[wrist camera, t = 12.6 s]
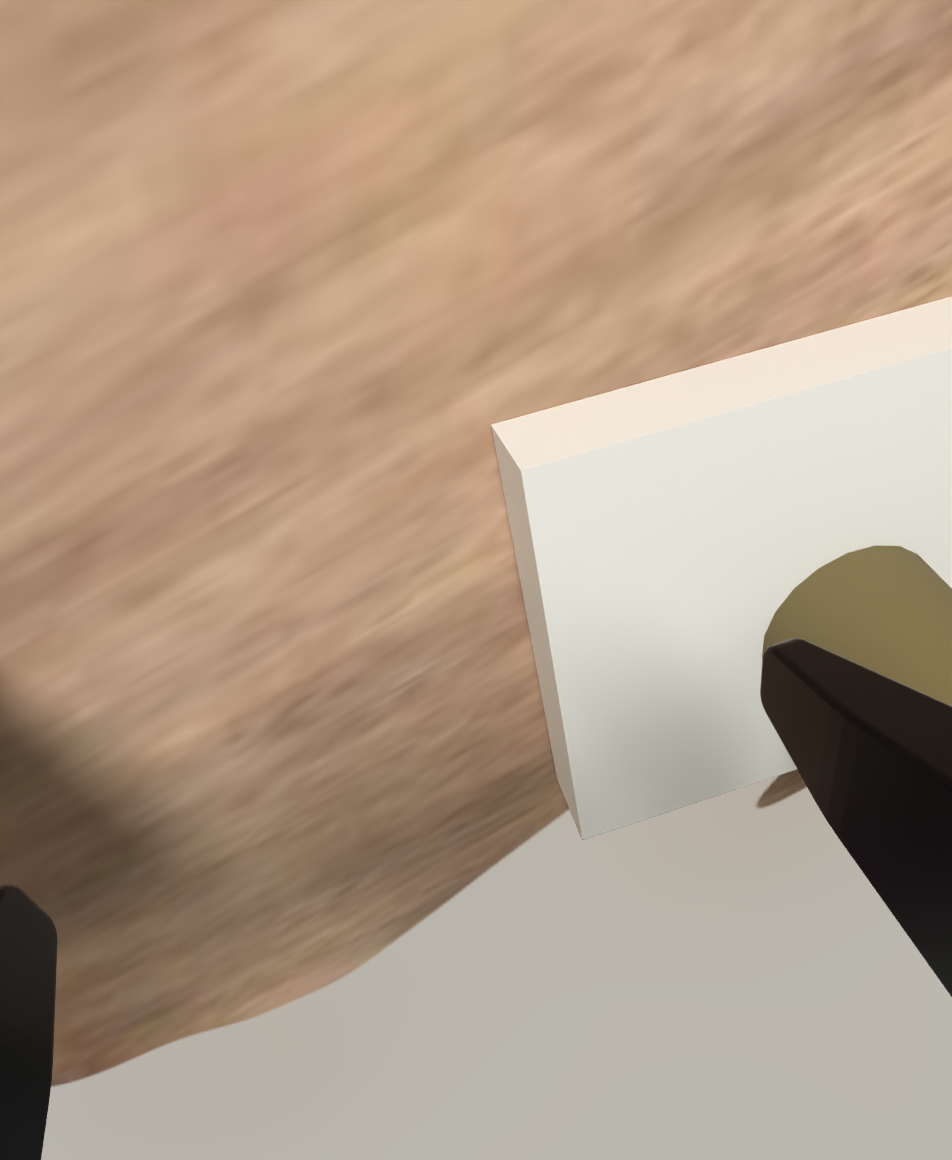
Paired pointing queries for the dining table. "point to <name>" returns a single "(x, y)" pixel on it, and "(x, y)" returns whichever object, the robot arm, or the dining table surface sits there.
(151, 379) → the dining table surface
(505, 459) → the base block
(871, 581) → the cork
